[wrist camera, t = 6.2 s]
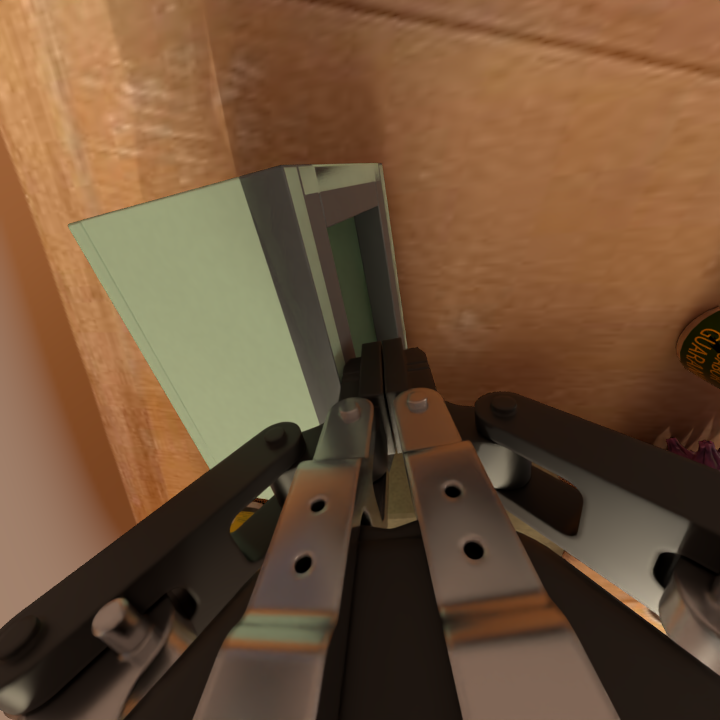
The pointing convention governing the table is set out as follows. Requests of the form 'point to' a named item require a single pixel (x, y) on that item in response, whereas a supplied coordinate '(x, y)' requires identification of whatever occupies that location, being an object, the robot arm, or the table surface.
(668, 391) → the table surface
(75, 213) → the table surface
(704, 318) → the beer can
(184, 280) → the pale green open box
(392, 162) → the table surface
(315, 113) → the table surface
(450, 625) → the robot arm
